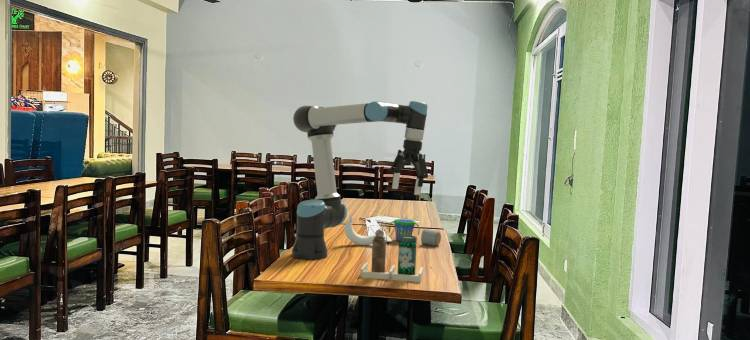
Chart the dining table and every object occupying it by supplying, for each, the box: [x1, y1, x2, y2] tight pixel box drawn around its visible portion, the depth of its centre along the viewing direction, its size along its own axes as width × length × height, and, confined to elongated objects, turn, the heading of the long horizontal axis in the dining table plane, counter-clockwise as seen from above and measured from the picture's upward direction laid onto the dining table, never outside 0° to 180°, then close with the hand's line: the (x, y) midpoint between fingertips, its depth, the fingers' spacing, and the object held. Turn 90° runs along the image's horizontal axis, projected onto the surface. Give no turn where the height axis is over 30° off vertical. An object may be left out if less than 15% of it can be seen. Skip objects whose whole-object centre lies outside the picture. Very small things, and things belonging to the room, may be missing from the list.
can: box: [397, 235, 418, 275], centre depth 202 cm, size 6×6×15 cm
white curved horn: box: [343, 214, 385, 246], centre depth 262 cm, size 5×19×15 cm, turn 93°
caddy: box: [359, 262, 424, 283], centre depth 203 cm, size 22×10×4 cm, turn 81°
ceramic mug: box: [420, 228, 442, 247], centre depth 271 cm, size 11×8×8 cm
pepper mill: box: [370, 229, 387, 273], centre depth 204 cm, size 5×5×17 cm
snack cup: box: [388, 218, 421, 242], centre depth 278 cm, size 16×10×10 cm
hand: (405, 191), depth 225 cm, fingers open, 13 cm apart
